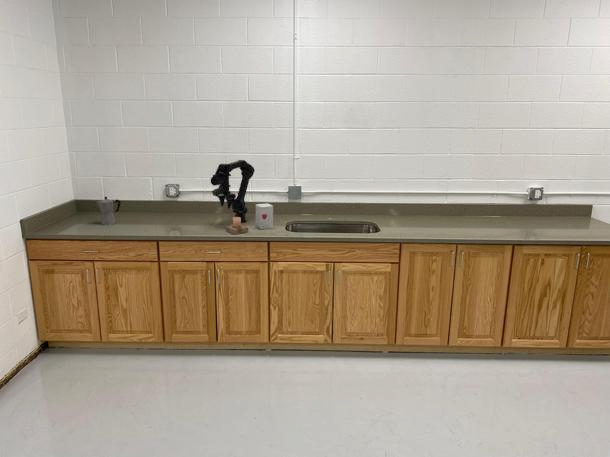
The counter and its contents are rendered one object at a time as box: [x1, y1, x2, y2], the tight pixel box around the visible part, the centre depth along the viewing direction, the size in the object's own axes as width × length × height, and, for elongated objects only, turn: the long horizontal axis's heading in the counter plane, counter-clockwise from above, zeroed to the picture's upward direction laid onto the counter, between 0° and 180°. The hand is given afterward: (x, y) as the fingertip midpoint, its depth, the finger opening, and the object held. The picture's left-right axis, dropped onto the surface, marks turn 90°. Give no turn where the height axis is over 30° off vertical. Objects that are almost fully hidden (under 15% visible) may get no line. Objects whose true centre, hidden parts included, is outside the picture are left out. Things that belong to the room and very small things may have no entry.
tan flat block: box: [225, 224, 249, 235], centre depth 289 cm, size 10×10×3 cm
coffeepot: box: [95, 196, 122, 226], centre depth 305 cm, size 15×9×18 cm, turn 113°
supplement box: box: [255, 203, 274, 230], centre depth 299 cm, size 9×9×15 cm
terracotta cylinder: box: [232, 216, 242, 228], centre depth 288 cm, size 5×5×6 cm
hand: (225, 207), depth 300 cm, fingers open, 9 cm apart
